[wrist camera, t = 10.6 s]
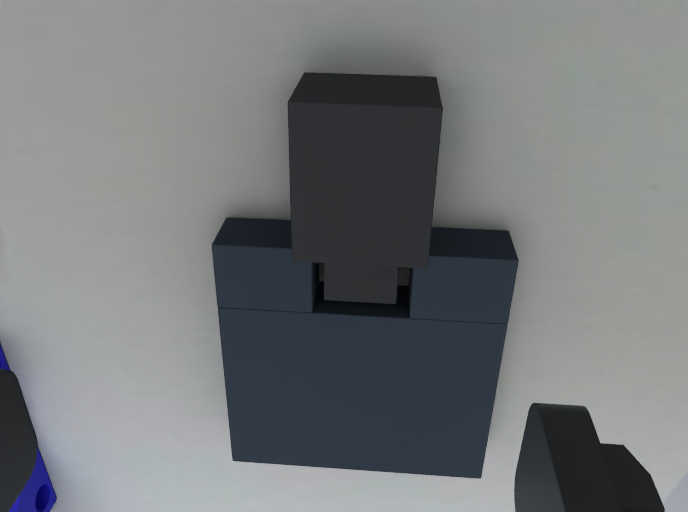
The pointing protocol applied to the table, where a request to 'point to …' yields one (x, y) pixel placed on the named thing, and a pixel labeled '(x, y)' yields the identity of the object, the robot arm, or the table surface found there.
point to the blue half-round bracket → (33, 481)
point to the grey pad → (362, 355)
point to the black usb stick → (363, 178)
